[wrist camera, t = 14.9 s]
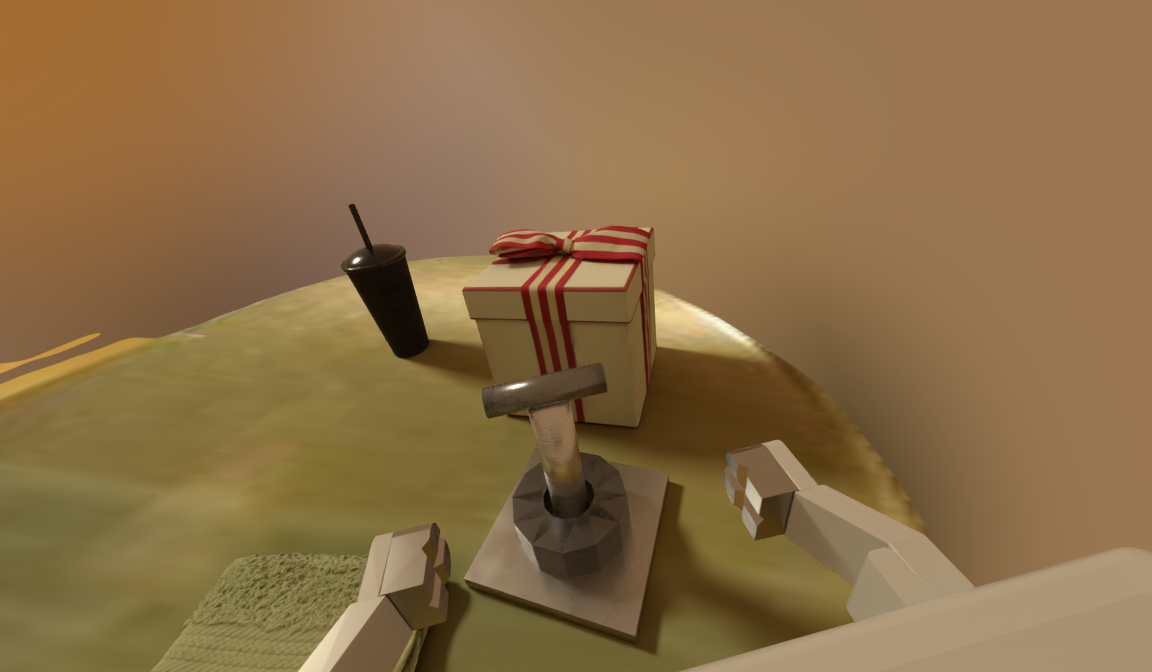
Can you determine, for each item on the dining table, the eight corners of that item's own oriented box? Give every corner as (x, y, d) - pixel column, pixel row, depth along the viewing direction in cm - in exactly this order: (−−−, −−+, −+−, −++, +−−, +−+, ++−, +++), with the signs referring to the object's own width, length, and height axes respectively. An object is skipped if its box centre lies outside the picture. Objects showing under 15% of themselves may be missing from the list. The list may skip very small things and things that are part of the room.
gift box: (660, 328, 54) (655, 192, 45) (653, 432, 39) (643, 261, 30) (535, 329, 58) (508, 205, 49) (486, 424, 43) (433, 271, 34)
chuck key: (616, 496, 32) (597, 352, 25) (625, 526, 30) (607, 378, 23) (527, 517, 32) (482, 377, 25) (530, 549, 30) (481, 405, 22)
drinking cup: (428, 327, 63) (376, 192, 52) (447, 346, 57) (393, 199, 47) (377, 348, 59) (311, 209, 49) (392, 371, 54) (321, 219, 43)
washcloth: (371, 841, 20) (342, 827, 18) (78, 799, 23) (29, 783, 21) (461, 566, 31) (448, 541, 29) (256, 561, 34) (233, 538, 32)
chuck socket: (636, 643, 25) (631, 610, 23) (467, 586, 29) (450, 554, 27) (668, 480, 34) (667, 446, 32) (537, 455, 38) (528, 424, 36)
